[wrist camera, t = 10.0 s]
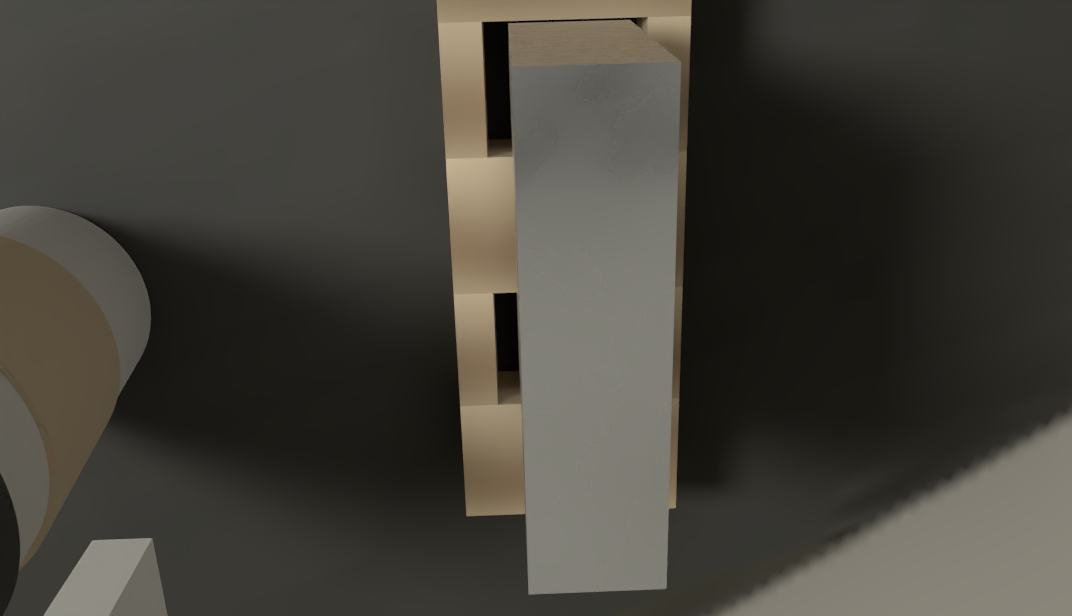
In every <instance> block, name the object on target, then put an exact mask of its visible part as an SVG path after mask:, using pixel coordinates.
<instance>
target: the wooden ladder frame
mask: <svg viewBox="0 0 1072 616" xmlns="http://www.w3.org/2000/svg"><path fill="white" fill-rule="evenodd" d="M691 3H692V0H437V13H438V31H439V48H440V65H441V83H442V100H443V117H444V135H445V152H446V169H447V186H448V204H449V221H450V238H451V256H452V273H453V290H454V308H455V325H456V342H457V360H458V377H459V394H460V411H461V429H462V446H463V463H464V481H465V498H466V515H467V516H485V515H511V514H525V497H524V474H523V451H522V427H521V398H520V375H519V371H500V372H498V359H497V335H496V311H495V293H516V292H517V276H516V246H515V215H514V185H513V155H512V139H488V119H487V95H486V71H485V48H484V24H483V22H495V21H530V20H565V19H601V18H636V25H637V26H638V27H639V28H641V29H642V30H643V31H644V32H645V33H647V34H648V35H649V36H650V37H652V38H653V39H654V40H655V41H656V42H658V43H659V44H660V45H661V46H663V47H664V48H665V49H666V50H667V51H669V52H670V53H671V54H672V55H674V56H675V57H676V58H677V59H678V60H680V61H681V88H680V124H679V159H678V194H677V230H676V265H675V301H674V336H673V372H672V407H671V443H670V478H669V508H676V483H677V451H678V419H679V387H680V355H681V323H682V291H683V259H684V227H685V195H686V163H687V131H688V99H689V67H690V35H691Z"/></svg>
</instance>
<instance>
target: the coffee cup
mask: <svg viewBox="0 0 1072 616" xmlns="http://www.w3.org/2000/svg"><path fill="white" fill-rule="evenodd" d="M150 326H151V308H150V301H149V297H148V292H147V289H146V286H145V283H144V281H143V278H142V276H141V274H140V272H139V270H138V269H137V267H136V265H135V263H134V262H133V260H132V259H131V258H130V256H129V255H128V254H127V252H126V251H125V250H124V249H123V248H122V247H121V246H120V244H119V243H118V242H117V241H116V240H114V239H113V238H112V237H111V236H110V235H109V234H107V233H106V232H105V231H104V230H102V229H101V228H99V227H98V226H96V225H95V224H93V223H91V222H90V221H88V220H86V219H84V218H82V217H80V216H77V215H75V214H72V213H70V212H66V211H63V210H60V209H55V208H50V207H44V206H17V207H11V208H6V209H2V210H0V616H2V615H3V614H4V612H5V610H6V608H7V606H8V604H9V602H10V599H11V597H12V594H13V591H14V588H15V585H16V581H17V576H18V571H19V570H20V569H21V568H22V567H23V566H24V565H25V564H26V563H27V562H28V561H29V560H30V559H31V558H32V556H33V555H34V554H35V553H36V551H37V550H38V548H39V547H40V545H41V543H42V542H43V540H44V538H45V536H46V534H47V533H48V531H49V529H50V527H51V525H52V524H53V522H54V520H55V518H56V516H57V514H58V513H59V511H60V509H61V507H62V505H63V504H64V502H65V500H66V498H67V496H68V494H69V493H70V491H71V489H72V487H73V485H74V483H75V482H76V480H77V478H78V476H79V474H80V473H81V471H82V469H83V467H84V465H85V463H86V462H87V460H88V458H89V456H90V454H91V452H92V451H93V449H94V447H95V445H96V443H97V442H98V440H99V438H100V436H101V434H102V432H103V431H104V429H105V427H106V425H107V423H108V422H109V420H110V418H111V416H112V413H113V411H114V408H115V405H116V402H117V398H118V396H119V394H120V392H121V391H122V389H123V387H124V386H125V384H126V382H127V380H128V379H129V377H130V375H131V374H132V372H133V370H134V368H135V367H136V365H137V363H138V362H139V360H140V358H141V356H142V354H143V352H144V350H145V347H146V345H147V342H148V338H149V333H150Z"/></svg>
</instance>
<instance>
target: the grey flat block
mask: <svg viewBox="0 0 1072 616" xmlns="http://www.w3.org/2000/svg"><path fill="white" fill-rule="evenodd" d="M508 34H509V41H508V53H509V83H510V113H511V131H512V155H513V185H514V215H515V246H516V276H517V292H516V293H517V323H518V352H519V375H520V398H521V427H522V451H523V474H524V497H525V520H526V543H527V567H528V590H529V594H551V593H575V592H600V591H624V590H648V589H666V585H667V549H668V514H669V478H670V443H671V407H672V372H673V336H674V301H675V265H676V230H677V194H678V159H679V124H680V88H681V61H680V60H678V59H677V58H676V57H675V56H674V55H672V54H671V53H670V52H669V51H667V50H666V49H665V48H664V47H663V46H661V45H660V44H659V43H658V42H656V41H655V40H654V39H653V38H652V37H650V36H649V35H648V34H647V33H645V32H644V31H643V30H642V29H641V28H639V27H638V26H637V25H636V24H635V23H633V22H632V21H631V20H606V21H571V22H535V23H508Z"/></svg>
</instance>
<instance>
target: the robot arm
mask: <svg viewBox="0 0 1072 616" xmlns="http://www.w3.org/2000/svg"><path fill="white" fill-rule="evenodd" d="M44 616H167V611H166V606H165V601H164V596H163V591H162V586H161V581H160V576H159V571H158V565H157V560H156V555H155V550H154V545H153V540H152V538H144V539H117V540H92V542H91V543H90V545H89V547H88V548H87V550H86V551H85V553H84V554H83V556H82V557H81V559H80V560H79V562H78V563H77V565H76V566H75V568H74V570H73V571H72V573H71V574H70V576H69V577H68V579H67V580H66V582H65V583H64V585H63V586H62V588H61V590H60V591H59V593H58V594H57V596H56V597H55V599H54V600H53V602H52V603H51V605H50V606H49V608H48V610H47V611H46V613H45V614H44Z"/></svg>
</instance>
